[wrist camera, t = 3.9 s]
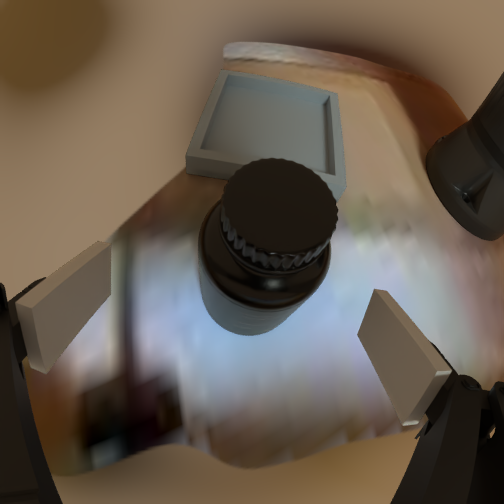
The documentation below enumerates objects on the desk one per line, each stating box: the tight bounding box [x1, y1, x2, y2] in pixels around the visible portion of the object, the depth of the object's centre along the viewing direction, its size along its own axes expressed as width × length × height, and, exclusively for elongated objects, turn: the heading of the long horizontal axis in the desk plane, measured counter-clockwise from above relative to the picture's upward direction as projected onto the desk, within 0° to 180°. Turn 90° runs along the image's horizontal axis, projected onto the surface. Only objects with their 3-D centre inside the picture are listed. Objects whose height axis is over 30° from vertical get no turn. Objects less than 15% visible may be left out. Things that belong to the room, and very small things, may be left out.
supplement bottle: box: [198, 158, 338, 336], centre depth 17 cm, size 7×7×12 cm
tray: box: [186, 69, 346, 202], centre depth 29 cm, size 14×15×2 cm
